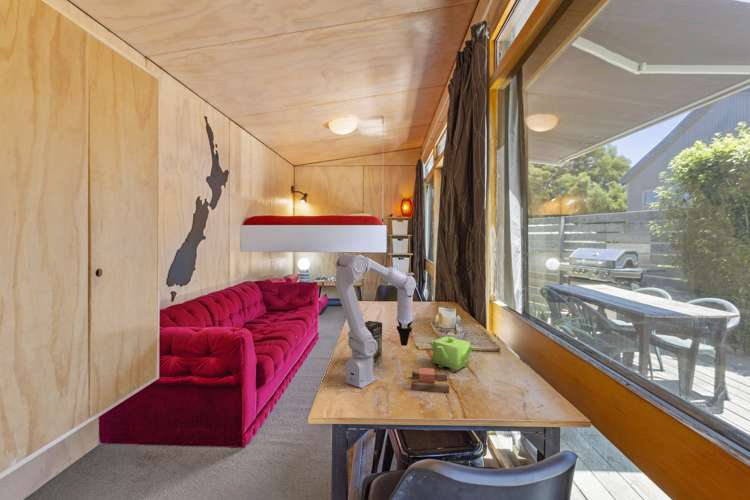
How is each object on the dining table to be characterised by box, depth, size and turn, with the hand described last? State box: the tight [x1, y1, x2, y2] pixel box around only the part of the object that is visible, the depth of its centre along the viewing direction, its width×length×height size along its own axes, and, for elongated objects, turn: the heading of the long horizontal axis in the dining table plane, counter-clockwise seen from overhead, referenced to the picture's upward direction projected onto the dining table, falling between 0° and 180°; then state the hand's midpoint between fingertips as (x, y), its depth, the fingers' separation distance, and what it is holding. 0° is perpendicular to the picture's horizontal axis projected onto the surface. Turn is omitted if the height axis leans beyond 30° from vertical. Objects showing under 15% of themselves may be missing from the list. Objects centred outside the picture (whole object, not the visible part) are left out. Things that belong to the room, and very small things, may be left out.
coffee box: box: [364, 320, 383, 369], centre depth 128 cm, size 9×6×16 cm
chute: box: [410, 370, 450, 394], centre depth 112 cm, size 12×10×2 cm
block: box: [418, 367, 436, 384], centre depth 112 cm, size 5×5×4 cm
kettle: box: [428, 336, 477, 373], centre depth 127 cm, size 15×14×11 cm
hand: (404, 342), depth 126 cm, fingers open, 7 cm apart
